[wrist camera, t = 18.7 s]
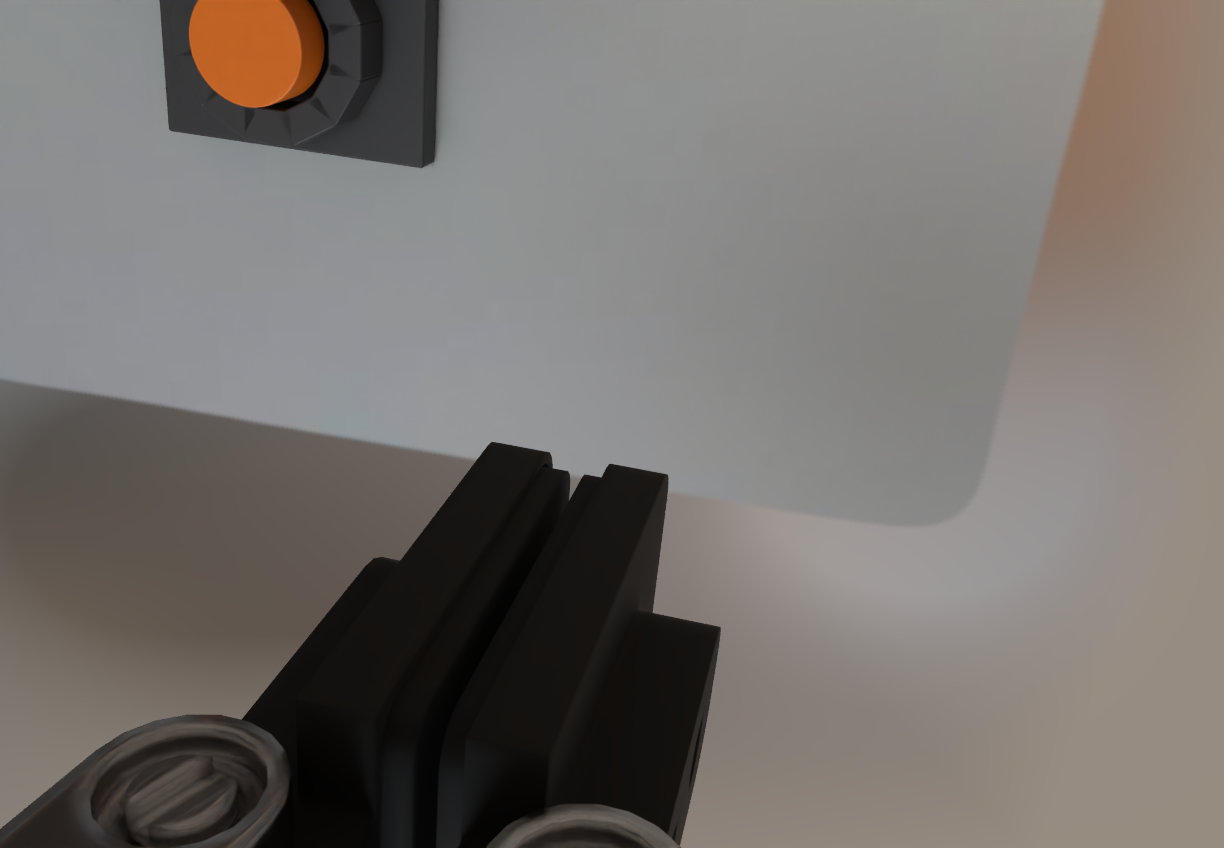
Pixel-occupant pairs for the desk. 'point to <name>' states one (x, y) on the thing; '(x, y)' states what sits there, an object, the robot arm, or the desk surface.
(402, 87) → the control block
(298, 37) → the button
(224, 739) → the robot arm
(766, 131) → the desk surface
